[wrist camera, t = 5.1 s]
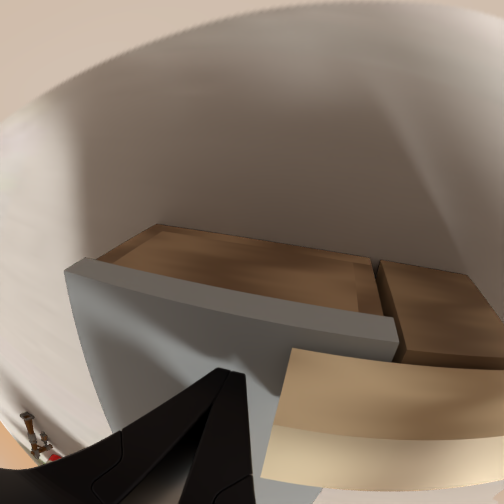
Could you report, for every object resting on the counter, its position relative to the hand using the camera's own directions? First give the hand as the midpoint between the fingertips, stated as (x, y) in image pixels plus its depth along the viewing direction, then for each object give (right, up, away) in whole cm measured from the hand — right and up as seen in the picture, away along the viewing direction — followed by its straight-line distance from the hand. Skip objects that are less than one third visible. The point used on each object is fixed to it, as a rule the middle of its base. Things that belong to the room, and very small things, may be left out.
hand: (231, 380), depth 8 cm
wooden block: (+5, -1, -1) cm, 5 cm away
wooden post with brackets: (-31, -23, +25) cm, 46 cm away
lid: (-1, -5, +4) cm, 7 cm away
